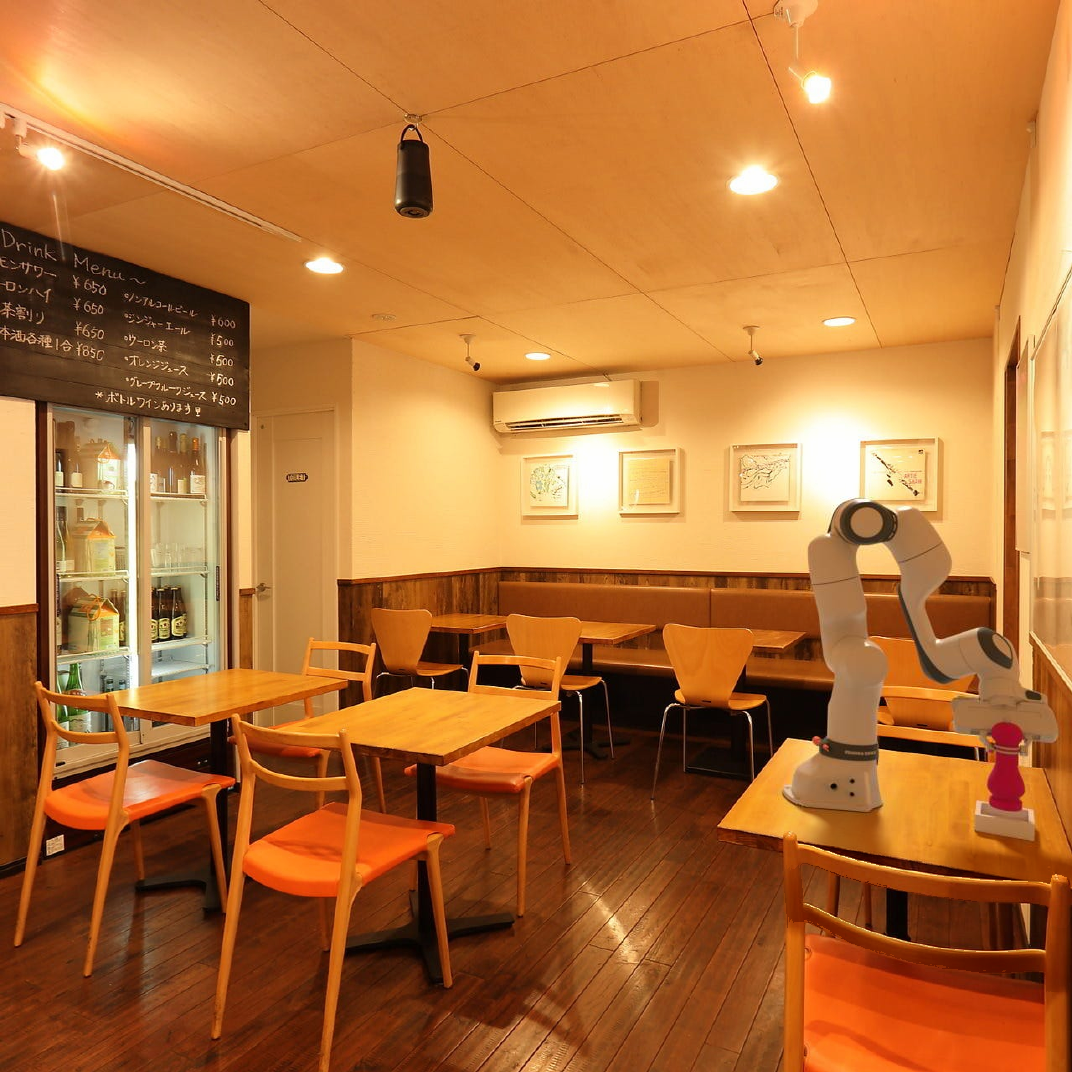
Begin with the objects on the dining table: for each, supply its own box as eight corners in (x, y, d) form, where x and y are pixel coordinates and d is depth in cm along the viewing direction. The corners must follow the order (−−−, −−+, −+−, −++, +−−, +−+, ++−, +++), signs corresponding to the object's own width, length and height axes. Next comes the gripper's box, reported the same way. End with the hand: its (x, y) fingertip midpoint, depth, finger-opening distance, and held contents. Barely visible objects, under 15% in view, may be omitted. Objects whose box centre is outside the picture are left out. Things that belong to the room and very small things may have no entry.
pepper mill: (1030, 814, 173) (1032, 720, 173) (993, 811, 175) (995, 718, 174) (1017, 802, 180) (1019, 712, 180) (981, 800, 182) (983, 710, 182)
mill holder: (974, 830, 175) (974, 814, 175) (976, 815, 185) (976, 800, 185) (1034, 841, 170) (1034, 824, 170) (1032, 825, 179) (1033, 809, 179)
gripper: (951, 687, 188) (954, 739, 179) (1054, 695, 180) (1063, 750, 171) (949, 703, 192) (952, 755, 183) (1050, 712, 184) (1058, 766, 175)
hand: (1007, 753), depth 177 cm, fingers closed on pepper mill, 5 cm apart
